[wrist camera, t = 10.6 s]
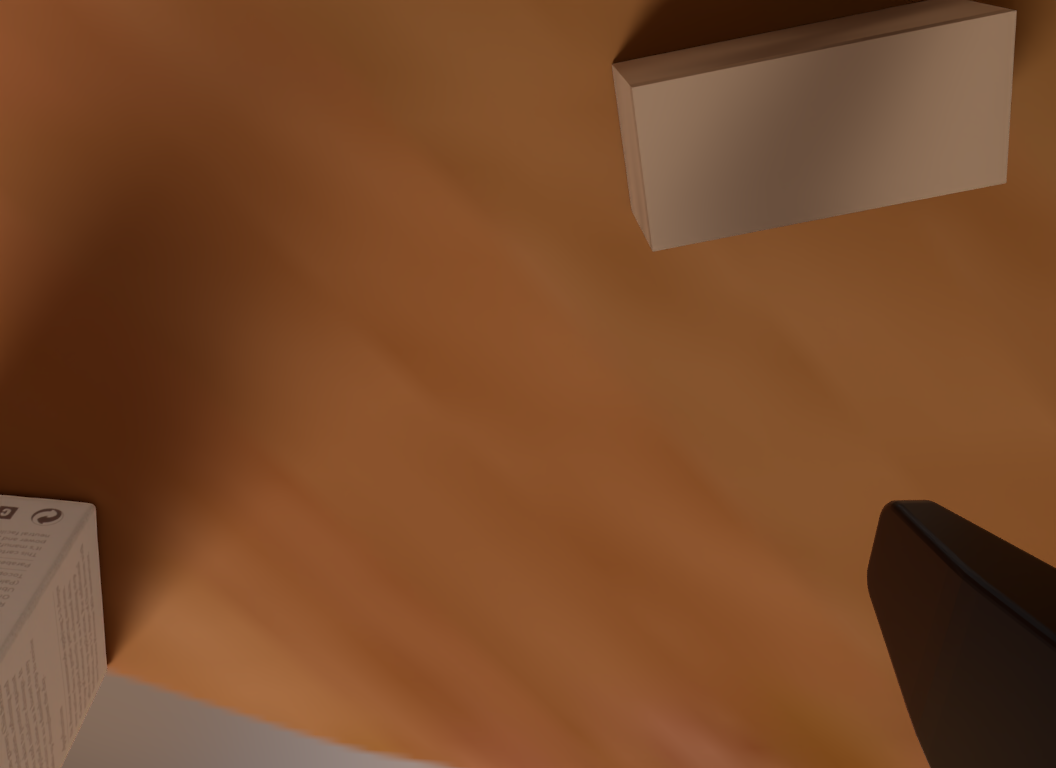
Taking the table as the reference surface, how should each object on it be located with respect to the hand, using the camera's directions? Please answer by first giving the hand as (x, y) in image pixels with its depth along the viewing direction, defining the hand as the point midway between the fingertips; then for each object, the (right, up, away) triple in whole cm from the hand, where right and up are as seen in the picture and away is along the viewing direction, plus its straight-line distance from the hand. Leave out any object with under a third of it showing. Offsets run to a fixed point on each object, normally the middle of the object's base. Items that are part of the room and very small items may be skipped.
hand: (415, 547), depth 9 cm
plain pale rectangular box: (+7, +7, +11) cm, 15 cm away
